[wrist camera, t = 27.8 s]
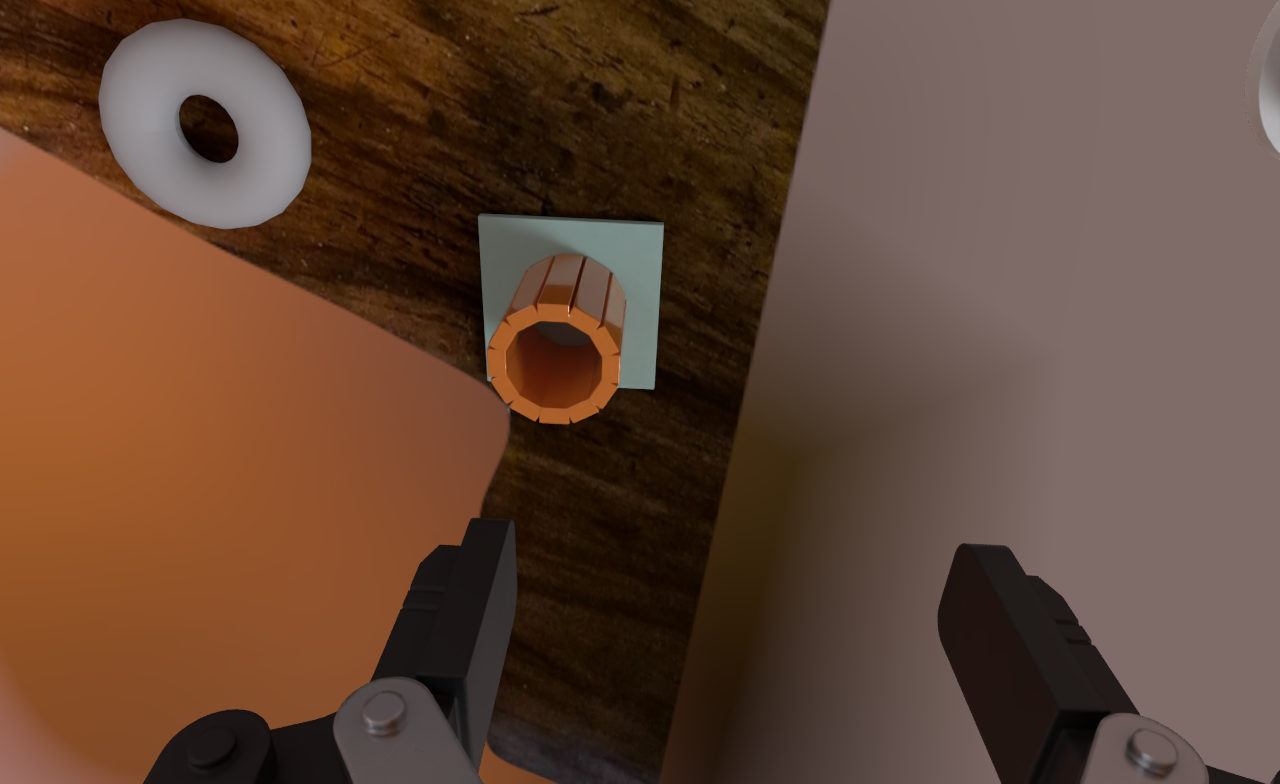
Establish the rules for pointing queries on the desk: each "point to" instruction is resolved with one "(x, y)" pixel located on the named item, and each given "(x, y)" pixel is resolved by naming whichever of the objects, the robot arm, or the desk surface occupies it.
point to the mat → (608, 242)
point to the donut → (156, 147)
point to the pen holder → (540, 367)
